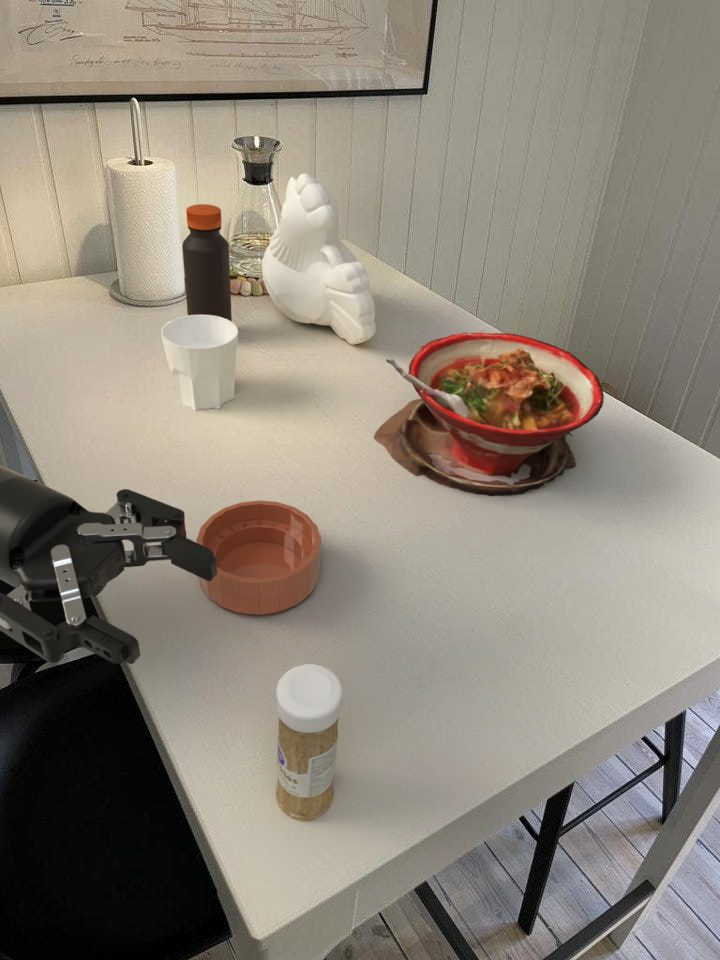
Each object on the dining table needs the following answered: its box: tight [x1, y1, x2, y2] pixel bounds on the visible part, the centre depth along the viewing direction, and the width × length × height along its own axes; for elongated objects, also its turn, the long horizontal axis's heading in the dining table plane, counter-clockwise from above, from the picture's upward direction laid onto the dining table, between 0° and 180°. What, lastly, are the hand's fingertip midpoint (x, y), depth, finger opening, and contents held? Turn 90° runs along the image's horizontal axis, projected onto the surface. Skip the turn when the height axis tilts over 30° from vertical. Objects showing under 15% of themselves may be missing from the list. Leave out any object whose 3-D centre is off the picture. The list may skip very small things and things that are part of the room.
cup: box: [160, 315, 239, 412], centre depth 103 cm, size 10×10×10 cm
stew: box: [373, 332, 605, 497], centre depth 94 cm, size 28×24×16 cm
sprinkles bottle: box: [275, 663, 344, 821], centre depth 55 cm, size 5×5×14 cm
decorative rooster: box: [261, 172, 377, 346], centre depth 118 cm, size 25×16×25 cm
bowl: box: [195, 499, 322, 616], centre depth 77 cm, size 12×12×5 cm
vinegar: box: [181, 203, 233, 322], centre depth 114 cm, size 7×7×20 cm
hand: (177, 608), depth 52 cm, fingers open, 8 cm apart
